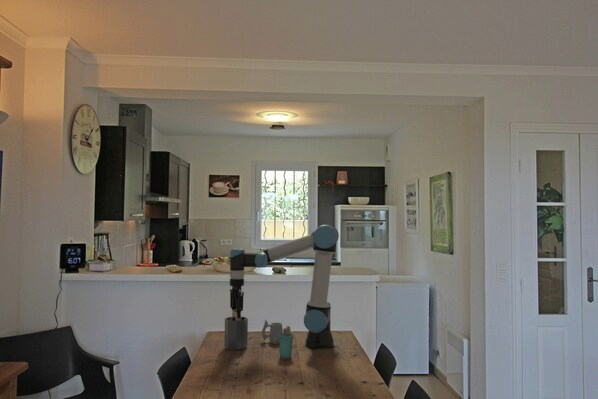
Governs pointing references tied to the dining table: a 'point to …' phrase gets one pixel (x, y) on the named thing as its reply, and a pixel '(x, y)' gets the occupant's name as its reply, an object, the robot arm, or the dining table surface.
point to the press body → (236, 334)
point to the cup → (285, 343)
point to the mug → (272, 331)
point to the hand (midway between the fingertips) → (236, 323)
